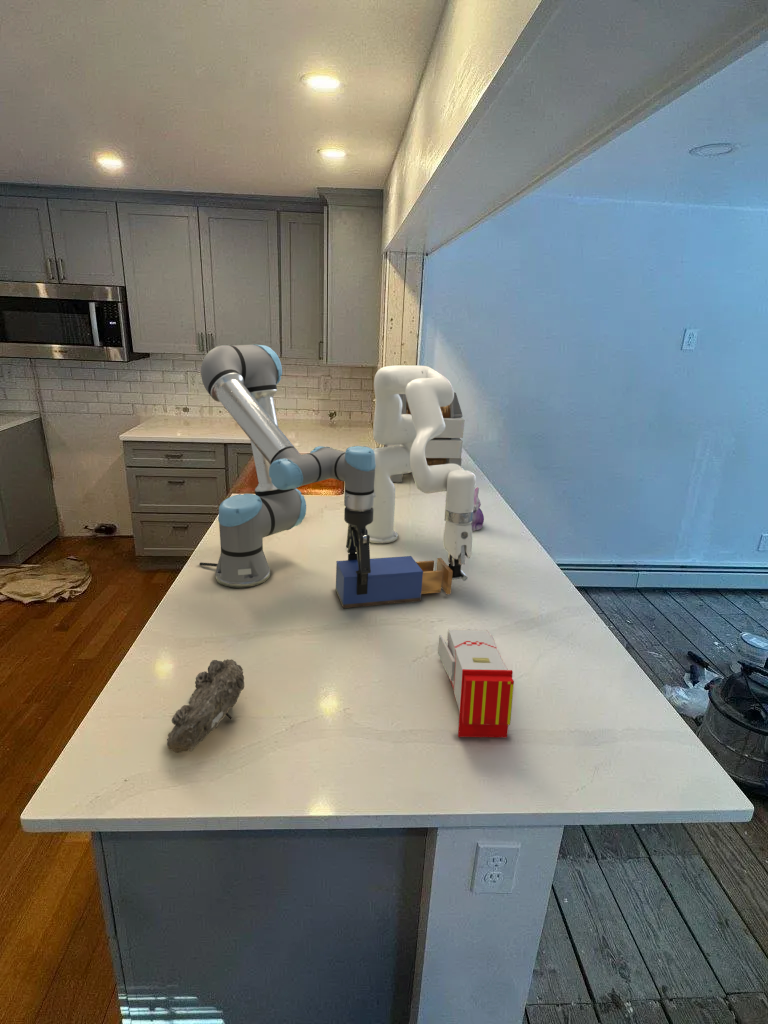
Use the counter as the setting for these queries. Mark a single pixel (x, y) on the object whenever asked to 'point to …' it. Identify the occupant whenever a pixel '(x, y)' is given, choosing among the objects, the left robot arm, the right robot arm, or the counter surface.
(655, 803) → the counter surface
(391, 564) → the cabinet
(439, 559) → the drawer
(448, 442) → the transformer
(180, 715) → the fossil
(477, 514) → the figurine
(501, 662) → the toy
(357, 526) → the left robot arm
